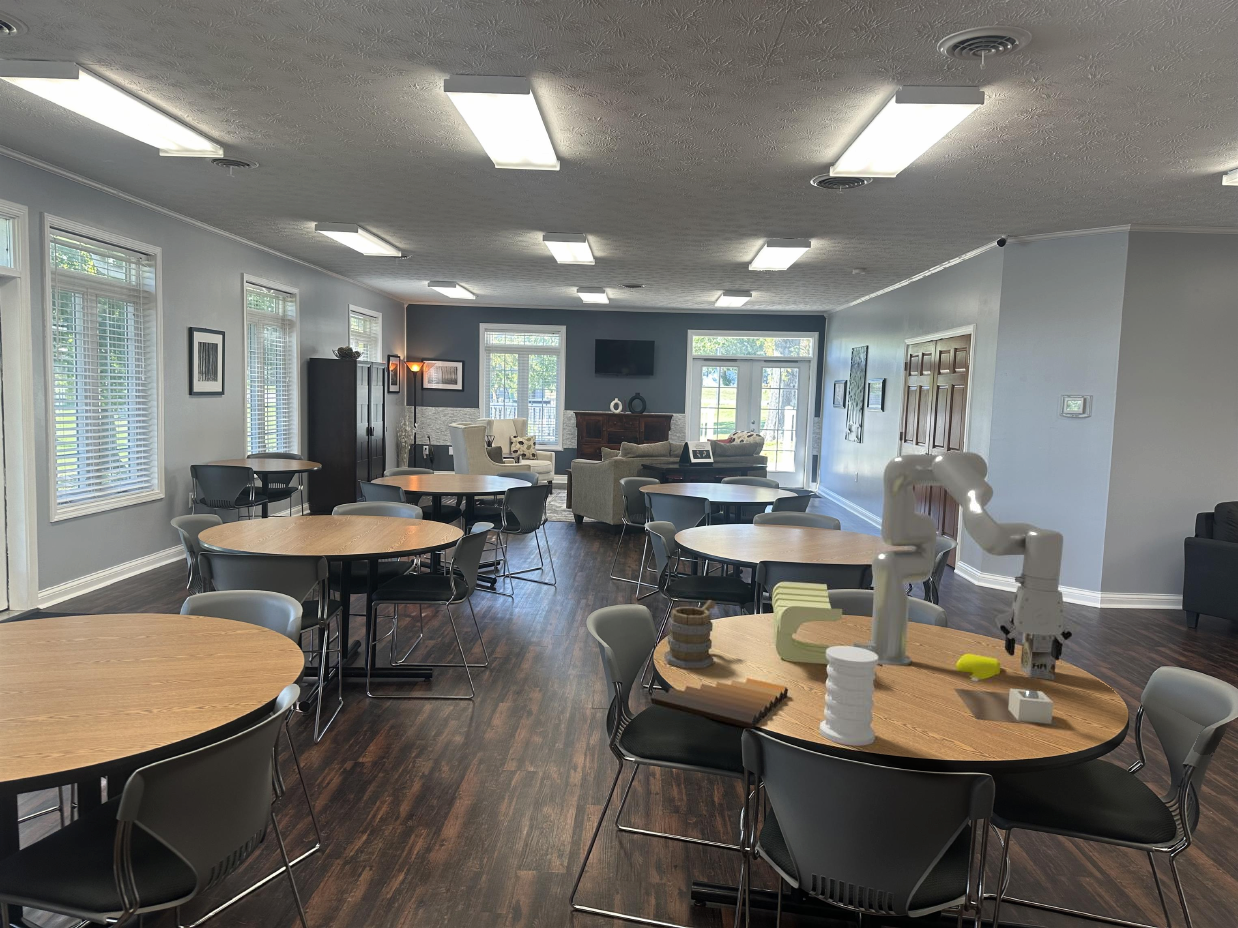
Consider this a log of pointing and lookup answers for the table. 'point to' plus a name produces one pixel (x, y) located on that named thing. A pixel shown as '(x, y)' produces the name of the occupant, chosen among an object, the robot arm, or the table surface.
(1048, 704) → the collar
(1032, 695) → the post
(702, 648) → the tankard
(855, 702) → the decorative container
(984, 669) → the spray bottle
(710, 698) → the pan flute
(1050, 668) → the coffee box
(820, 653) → the slatted curved stool
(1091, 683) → the table surface
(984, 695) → the board
